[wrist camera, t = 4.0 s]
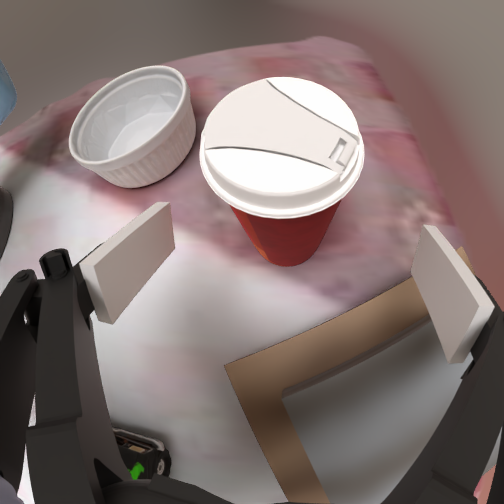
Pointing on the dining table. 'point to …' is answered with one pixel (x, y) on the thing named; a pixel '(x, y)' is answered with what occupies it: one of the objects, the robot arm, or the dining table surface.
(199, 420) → the dining table surface
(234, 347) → the dining table surface
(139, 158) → the ramekin
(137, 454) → the toy van
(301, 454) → the two-tone square platform
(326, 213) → the paper cup
